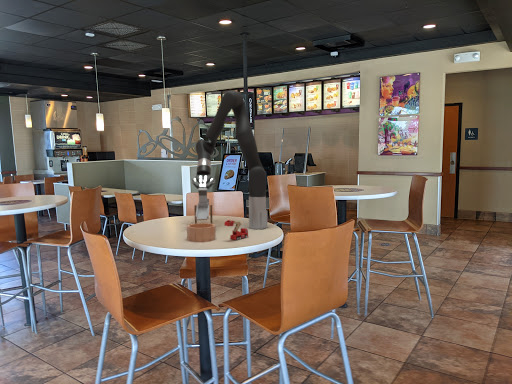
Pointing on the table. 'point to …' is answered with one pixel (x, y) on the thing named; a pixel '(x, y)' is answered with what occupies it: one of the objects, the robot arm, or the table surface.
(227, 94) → the robot arm
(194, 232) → the terracotta shallow bowl
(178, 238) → the table surface
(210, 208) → the catapult stand
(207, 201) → the grey angular piece
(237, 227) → the toy fire truck
